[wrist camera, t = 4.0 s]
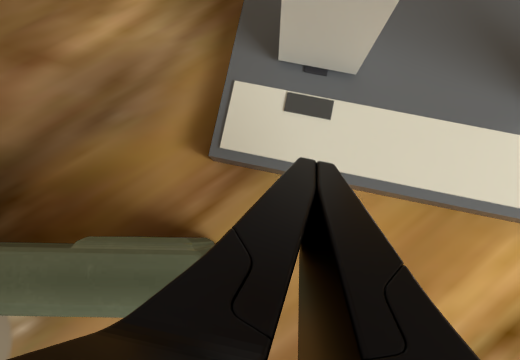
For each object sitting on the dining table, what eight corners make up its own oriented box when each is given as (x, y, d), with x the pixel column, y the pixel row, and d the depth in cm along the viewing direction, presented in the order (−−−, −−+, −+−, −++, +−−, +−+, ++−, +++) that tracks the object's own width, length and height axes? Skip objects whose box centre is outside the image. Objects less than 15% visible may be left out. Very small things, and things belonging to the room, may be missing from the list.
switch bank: (623, 244, 19) (660, 246, 17) (213, 160, 20) (207, 154, 18) (646, 5, 20) (682, -15, 18) (263, -60, 21) (262, -85, 19)
